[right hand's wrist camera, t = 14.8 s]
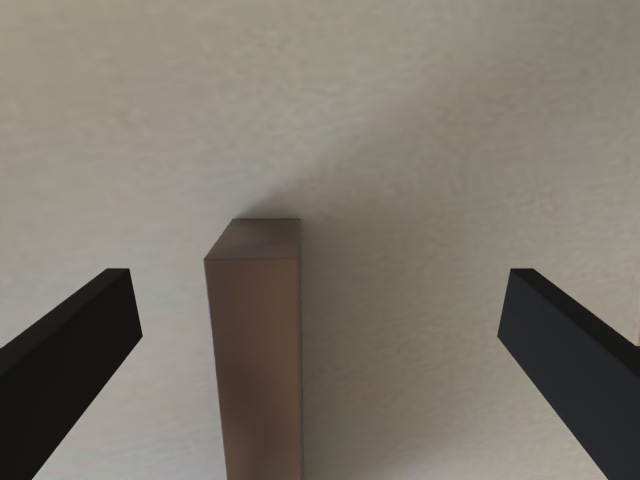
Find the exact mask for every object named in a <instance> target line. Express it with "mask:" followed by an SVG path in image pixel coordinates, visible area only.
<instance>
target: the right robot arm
mask: <svg viewBox="0 0 640 480" xmlns="http://www.w3.org/2000/svg"><path fill="white" fill-rule="evenodd" d="M142 337H143V335H142V330H141V325H140V320H139V315H138V310H137V305H136V300H135V295H134V290H133V285H132V280H131V275H130V270H129V268H107V269H106V270H104V271H103V272H102V273H100V274H99V275H98V276H96V277H95V278H94V279H92V280H91V281H90V282H88V283H87V284H86V285H84V286H83V287H82V288H80V289H79V290H78V291H76V292H75V293H74V294H73V295H71V296H70V297H69V298H67V299H66V300H65V301H63V302H62V303H61V304H59V305H58V306H57V307H55V308H54V309H53V310H51V311H50V312H49V313H47V314H46V315H45V316H43V317H42V318H41V319H39V320H38V321H37V322H35V323H34V324H33V325H31V326H30V327H29V328H28V329H26V330H25V331H24V332H22V333H21V334H20V335H18V336H17V337H16V338H14V339H13V340H12V341H10V342H9V343H8V344H6V345H5V346H4V347H2V348H0V480H32V479H33V477H34V476H35V475H36V474H37V472H38V471H39V470H40V468H41V467H42V466H43V464H44V463H45V462H46V461H47V459H48V458H49V457H50V455H51V454H52V453H53V452H54V450H55V449H56V448H57V446H58V445H59V444H60V443H61V441H62V440H63V439H64V437H65V436H66V435H67V433H68V432H69V431H70V430H71V428H72V427H73V426H74V424H75V423H76V422H77V421H78V419H79V418H80V417H81V415H82V414H83V413H84V412H85V410H86V409H87V408H88V406H89V405H90V404H91V403H92V401H93V400H94V399H95V397H96V396H97V395H98V393H99V392H100V391H101V390H102V388H103V387H104V386H105V384H106V383H107V382H108V381H109V379H110V378H111V377H112V375H113V374H114V373H115V372H116V370H117V369H118V368H119V366H120V365H121V364H122V363H123V361H124V360H125V359H126V357H127V356H128V355H129V353H130V352H131V351H132V350H133V348H134V347H135V346H136V344H137V343H138V342H139V341H140V339H141V338H142ZM497 337H498V338H499V339H500V341H501V342H502V343H503V344H504V346H505V347H506V348H507V350H508V351H509V352H510V353H511V355H512V356H513V357H514V359H515V360H516V361H517V363H518V364H519V365H520V366H521V368H522V369H523V370H524V372H525V373H526V374H527V375H528V377H529V378H530V379H531V381H532V382H533V383H534V384H535V386H536V387H537V388H538V390H539V391H540V392H541V393H542V395H543V396H544V397H545V399H546V400H547V401H548V403H549V404H550V405H551V406H552V408H553V409H554V410H555V412H556V413H557V414H558V415H559V417H560V418H561V419H562V421H563V422H564V423H565V424H566V426H567V427H568V428H569V430H570V431H571V432H572V433H573V435H574V436H575V437H576V439H577V440H578V441H579V443H580V444H581V445H582V446H583V448H584V449H585V450H586V452H587V453H588V454H589V455H590V457H591V458H592V459H593V461H594V462H595V463H596V464H597V466H598V467H599V468H600V470H601V471H602V472H603V474H604V475H605V476H606V477H607V479H608V480H640V347H639V346H635V345H634V344H632V343H631V342H630V341H628V340H627V339H626V338H624V337H623V336H622V335H620V334H619V333H618V332H616V331H615V330H614V329H612V328H611V327H610V326H609V325H607V324H606V323H605V322H603V321H602V320H601V319H599V318H598V317H597V316H595V315H594V314H593V313H591V312H590V311H589V310H587V309H586V308H585V307H583V306H582V305H581V304H579V303H578V302H577V301H575V300H574V299H573V298H571V297H570V296H569V295H567V294H566V293H565V292H564V291H562V290H561V289H560V288H558V287H557V286H556V285H554V284H553V283H552V282H550V281H549V280H548V279H546V278H545V277H544V276H542V275H541V274H540V273H538V272H537V271H536V270H534V269H533V268H511V270H510V275H509V280H508V285H507V290H506V295H505V300H504V305H503V310H502V315H501V320H500V325H499V330H498V335H497Z"/></svg>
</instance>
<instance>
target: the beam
mask: <svg viewBox="0 0 640 480" xmlns="http://www.w3.org/2000/svg"><path fill="white" fill-rule="evenodd" d="M204 268H205V278H206V287H207V296H208V305H209V315H210V324H211V333H212V343H213V352H214V361H215V370H216V380H217V389H218V398H219V408H220V417H221V426H222V435H223V445H224V454H225V463H226V473H227V480H304V477H303V404H302V330H301V257H300V219H232V221H231V222H230V224H229V225H228V226H227V228H226V229H225V231H224V232H223V233H222V235H221V236H220V238H219V239H218V240H217V242H216V243H215V244H214V246H213V247H212V249H211V250H210V251H209V253H208V254H207V256H206V257H205V258H204Z"/></svg>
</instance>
